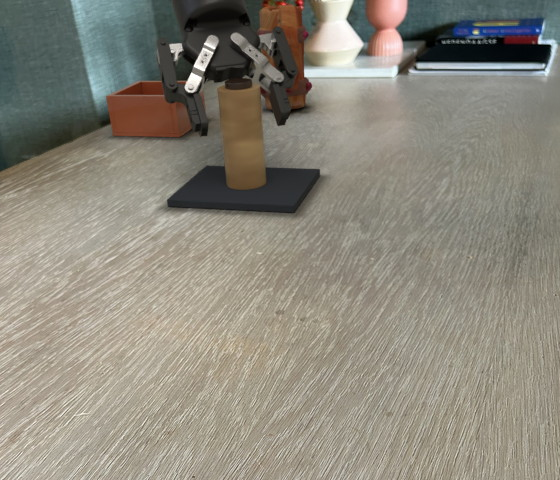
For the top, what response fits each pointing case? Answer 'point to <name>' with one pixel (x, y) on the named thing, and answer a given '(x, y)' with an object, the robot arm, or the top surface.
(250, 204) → the mat
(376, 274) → the top surface
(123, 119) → the terracotta open box
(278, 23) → the mug
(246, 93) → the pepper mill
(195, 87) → the robot arm
